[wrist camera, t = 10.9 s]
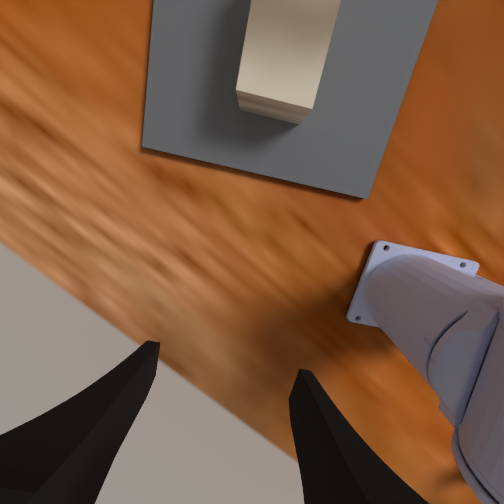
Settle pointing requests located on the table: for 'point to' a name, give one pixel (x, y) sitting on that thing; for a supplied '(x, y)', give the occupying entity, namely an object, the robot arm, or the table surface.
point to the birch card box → (284, 56)
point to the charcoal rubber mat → (270, 129)
